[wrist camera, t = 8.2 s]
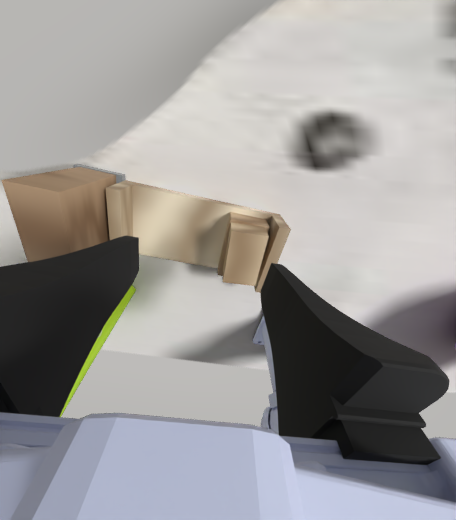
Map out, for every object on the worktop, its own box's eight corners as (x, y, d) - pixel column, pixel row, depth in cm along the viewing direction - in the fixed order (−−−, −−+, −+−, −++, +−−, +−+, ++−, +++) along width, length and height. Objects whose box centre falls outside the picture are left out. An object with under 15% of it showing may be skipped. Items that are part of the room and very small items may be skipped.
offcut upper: (264, 227, 18) (268, 236, 16) (252, 273, 20) (255, 285, 18) (230, 222, 17) (231, 231, 16) (223, 269, 20) (222, 282, 18)
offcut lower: (265, 219, 19) (269, 226, 18) (249, 270, 22) (250, 280, 21) (230, 211, 19) (230, 218, 17) (218, 264, 22) (217, 274, 20)
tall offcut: (119, 236, 21) (75, 275, 15) (88, 230, 20) (30, 268, 14) (115, 174, 18) (59, 192, 12) (79, 166, 17) (1, 180, 11)
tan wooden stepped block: (279, 214, 20) (290, 229, 17) (259, 271, 24) (265, 293, 20) (125, 180, 18) (102, 189, 15) (127, 247, 22) (109, 266, 18)
